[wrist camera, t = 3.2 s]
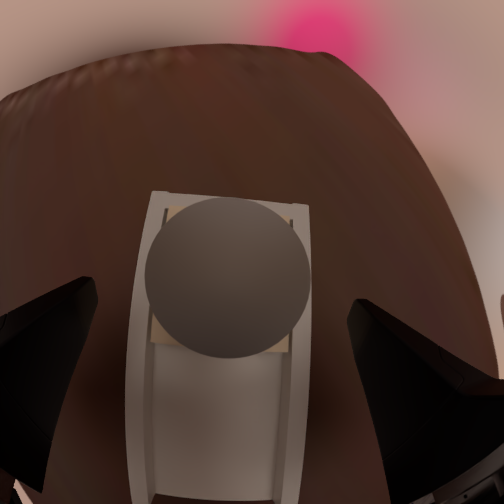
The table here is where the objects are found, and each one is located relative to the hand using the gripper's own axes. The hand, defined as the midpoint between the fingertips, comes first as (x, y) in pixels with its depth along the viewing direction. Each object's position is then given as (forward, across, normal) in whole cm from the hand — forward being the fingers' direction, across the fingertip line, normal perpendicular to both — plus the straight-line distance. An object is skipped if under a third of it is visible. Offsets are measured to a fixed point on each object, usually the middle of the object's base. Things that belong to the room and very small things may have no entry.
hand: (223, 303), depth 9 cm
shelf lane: (+4, 0, +8) cm, 9 cm away
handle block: (+6, 0, +4) cm, 7 cm away
